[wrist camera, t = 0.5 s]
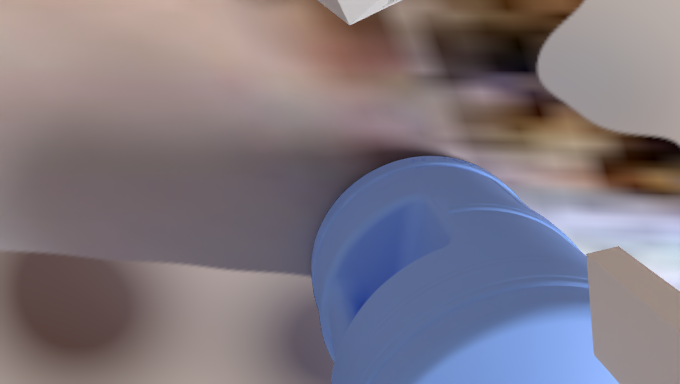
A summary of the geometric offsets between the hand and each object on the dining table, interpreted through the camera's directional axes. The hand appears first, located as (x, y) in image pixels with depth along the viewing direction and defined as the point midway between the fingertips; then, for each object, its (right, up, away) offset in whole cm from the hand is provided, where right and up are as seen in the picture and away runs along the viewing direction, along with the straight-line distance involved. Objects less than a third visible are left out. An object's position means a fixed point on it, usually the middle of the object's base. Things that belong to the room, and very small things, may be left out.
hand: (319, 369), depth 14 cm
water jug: (+6, -1, +29) cm, 30 cm away
